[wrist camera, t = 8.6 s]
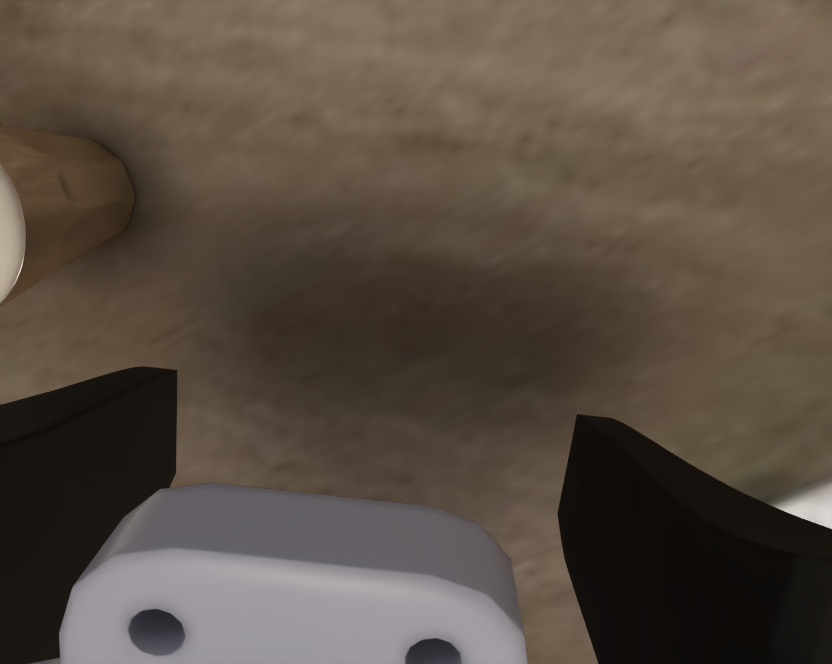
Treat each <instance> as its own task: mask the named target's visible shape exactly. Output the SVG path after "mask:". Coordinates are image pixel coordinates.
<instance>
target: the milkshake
mask: <svg viewBox="0 0 832 664" xmlns="http://www.w3.org/2000/svg"><path fill="white" fill-rule="evenodd" d="M135 198H136V195H135V192H134V190H133V187H132V184H131V181H130V179H129V176H128V173H127V170H126V167H125V165H124V163H123V162H122V161H121V160H119V159H118V158H117V157H115V156H114V155H113V154H111V153H110V152H109V151H107V150H106V149H105V148H103V147H102V146H101V145H100V144H98V143H97V142H96V141H94V140H88V139H82V138H76V137H69V136H63V135H57V134H51V133H44V132H38V131H32V130H26V129H20V128H14V127H8V126H3V125H0V307H1V306H3V305H4V304H6V303H8V302H9V301H11V300H12V299H14V298H15V297H17V296H18V295H20V294H21V293H23V292H25V291H26V290H28V289H29V288H31V287H32V286H34V285H35V284H36V283H38V282H39V281H40V280H42V279H43V278H45V277H47V276H48V275H50V274H52V273H54V272H56V271H57V270H59V269H61V268H63V267H65V266H66V265H68V264H70V263H72V262H74V261H75V260H77V259H79V258H81V257H83V256H84V255H86V254H88V253H90V252H92V251H93V250H95V249H97V248H99V247H100V246H102V245H103V244H105V243H106V242H107V241H109V240H110V239H112V238H113V237H115V236H116V235H117V234H119V233H120V232H122V231H123V230H125V229H126V228H127V226H128V223H129V219H130V215H131V212H132V208H133V205H134V201H135Z"/></svg>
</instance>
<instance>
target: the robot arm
mask: <svg viewBox="0 0 832 664" xmlns="http://www.w3.org/2000/svg"><path fill="white" fill-rule="evenodd" d="M176 429H177V370H172V369H163V368H154V367H145V366H142V367H133V368H128V369H124V370H120V371H116V372H113V373H109V374H106V375H102V376H99V377H96V378H92V379H89V380H86V381H83V382H80V383H76V384H73V385H70V386H67V387H63V388H60V389H57V390H53V391H50V392H46V393H42V394H39V395H35V396H32V397H28V398H24V399H21V400H17V401H13V402H10V403H6V404H2V405H0V664H528V662H527V654H526V646H525V639H524V632H523V626H522V621H521V615H520V609H519V604H518V598H517V593H516V587H515V581H514V576H513V570H512V565H511V559H510V558H509V556H508V555H507V554H506V553H505V552H504V551H503V550H502V548H501V547H500V546H499V545H498V544H497V543H496V542H495V540H494V539H493V538H492V537H491V536H490V535H489V534H488V532H487V531H486V530H485V529H484V528H483V527H482V526H481V524H480V523H477V522H474V521H471V520H468V519H466V518H463V517H460V516H457V515H454V514H452V513H449V512H446V511H443V510H440V509H437V508H435V507H432V506H424V505H414V504H405V503H396V502H386V501H377V500H368V499H359V498H349V497H340V496H331V495H321V494H312V493H303V492H294V491H284V490H275V489H266V488H257V487H247V486H238V485H229V484H219V483H204V484H196V485H188V486H181V487H173V488H169V487H170V485H171V483H172V480H173V478H174V476H175V474H176ZM558 520H559V527H560V534H561V541H562V546H563V552H564V558H565V562H566V565H567V568H568V572H569V575H570V578H571V581H572V584H573V587H574V590H575V594H576V597H577V600H578V603H579V606H580V609H581V612H582V615H583V618H584V621H585V624H586V627H587V630H588V633H589V636H590V639H591V642H592V645H593V648H594V651H595V654H596V657H597V660H598V664H832V529H830V528H827V527H824V526H822V525H819V524H816V523H813V522H810V521H808V520H805V519H802V518H799V517H797V516H794V515H792V514H789V513H787V512H784V511H782V510H779V509H777V508H775V507H773V506H771V505H768V504H766V503H764V502H762V501H760V500H757V499H755V498H753V497H751V496H748V495H746V494H744V493H742V492H740V491H738V490H736V489H734V488H732V487H730V486H728V485H726V484H725V483H723V482H721V481H719V480H717V479H716V478H714V477H712V476H710V475H708V474H706V473H705V472H703V471H701V470H699V469H698V468H696V467H694V466H693V465H691V464H689V463H687V462H686V461H684V460H683V459H681V458H679V457H678V456H676V455H674V454H673V453H671V452H670V451H668V450H666V449H665V448H663V447H662V446H660V445H658V444H657V443H655V442H654V441H652V440H650V439H649V438H647V437H646V436H644V435H642V434H641V433H639V432H638V431H636V430H634V429H633V428H631V427H629V426H627V425H625V424H624V423H622V422H620V421H617V420H615V419H612V418H606V417H597V416H588V415H579V414H577V417H576V422H575V427H574V432H573V438H572V443H571V448H570V453H569V458H568V463H567V468H566V473H565V478H564V484H563V489H562V494H561V499H560V504H559V509H558Z"/></svg>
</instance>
